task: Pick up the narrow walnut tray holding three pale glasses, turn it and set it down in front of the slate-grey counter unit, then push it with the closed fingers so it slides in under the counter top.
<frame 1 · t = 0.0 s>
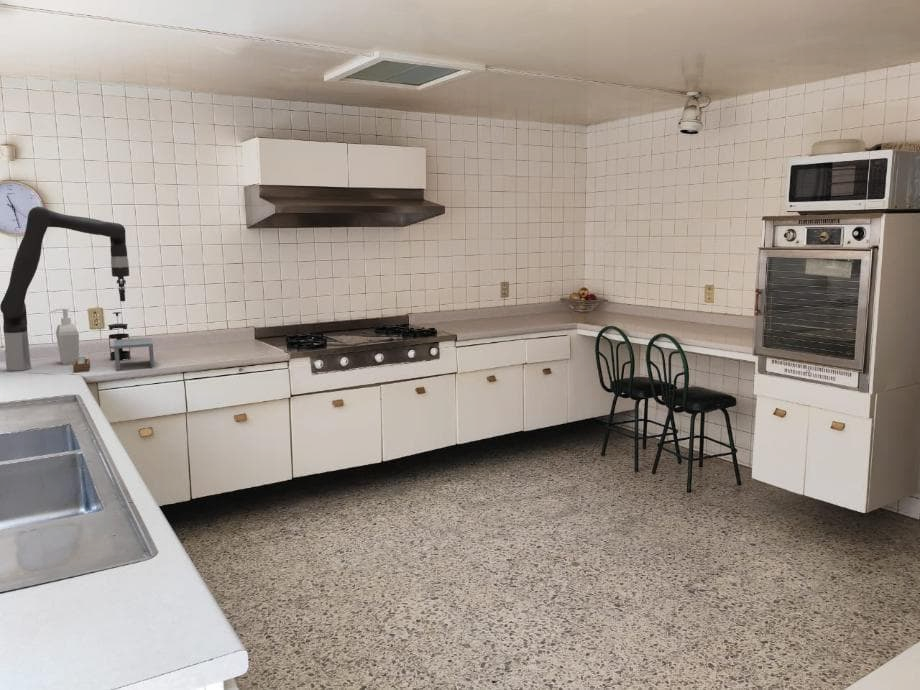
hand: (122, 300, 349), 29 cm above the countertop, tool pointing down, fingers open, 8 cm apart
tray: (82, 369, 334), on the countertop
counter: (134, 365, 342), on the countertop
soap bottle: (67, 363, 351), on the countertop
french press: (120, 359, 360), on the countertop
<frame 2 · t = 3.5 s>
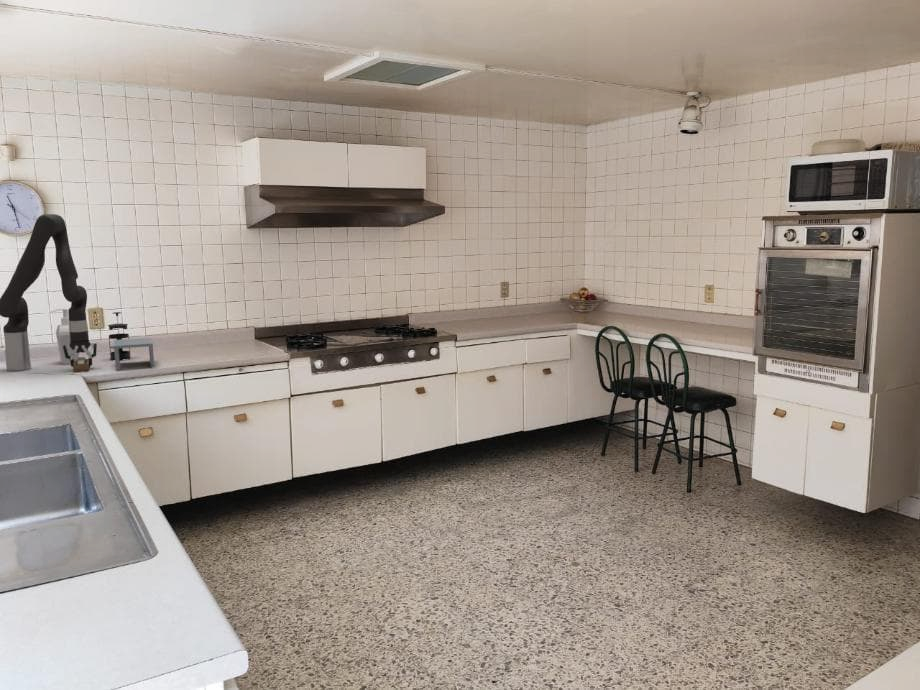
hand: (81, 366, 334), 1 cm above the countertop, tool pointing down, fingers closed on tray, 6 cm apart
tray: (82, 369, 334), on the countertop, touching gripper
everything else where it was.
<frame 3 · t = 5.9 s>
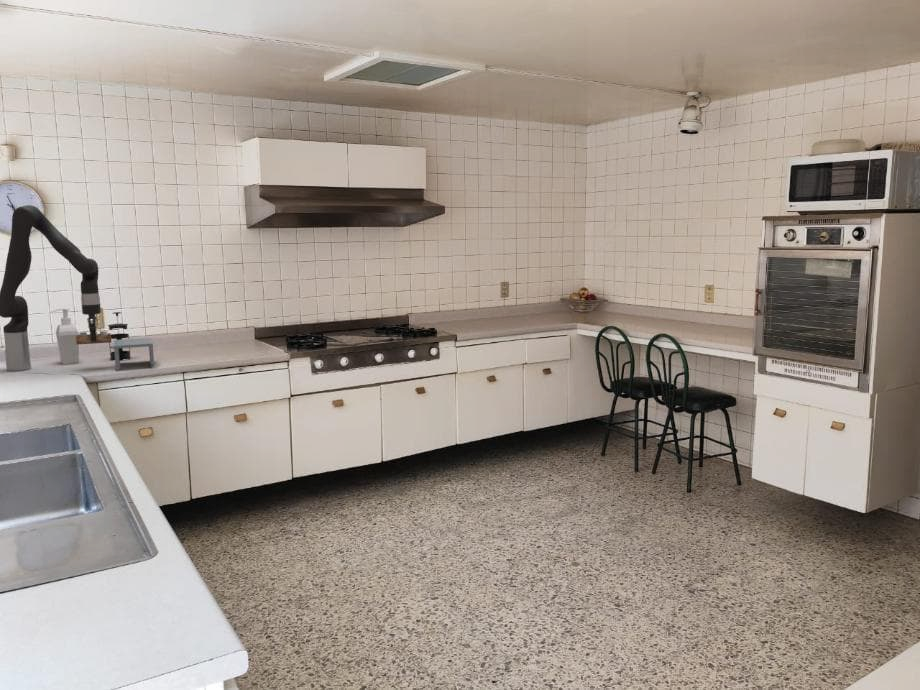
hand: (94, 340, 333), 13 cm above the countertop, tool pointing down, fingers closed on tray, 6 cm apart
tray: (94, 342, 333), point 12 cm above the countertop, touching gripper
everything else where it was.
when the fingers open (2 cm above the countertop, at t = 8.3 s): tray stays where it is, on the countertop.
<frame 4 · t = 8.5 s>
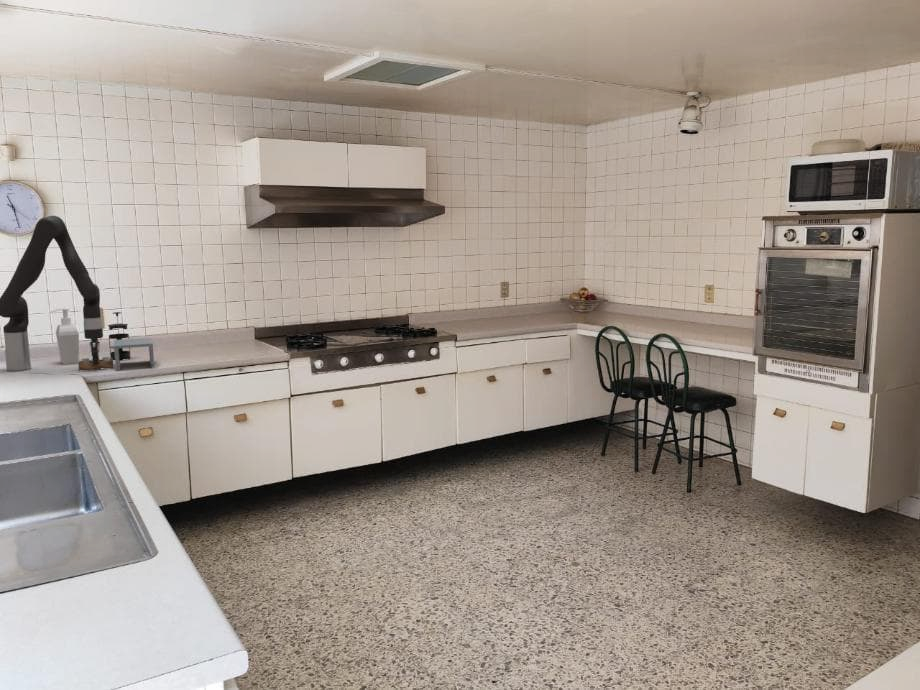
hand: (96, 363, 335), 2 cm above the countertop, tool pointing down, fingers open, 7 cm apart
tray: (96, 368, 335), on the countertop
everything else where it was.
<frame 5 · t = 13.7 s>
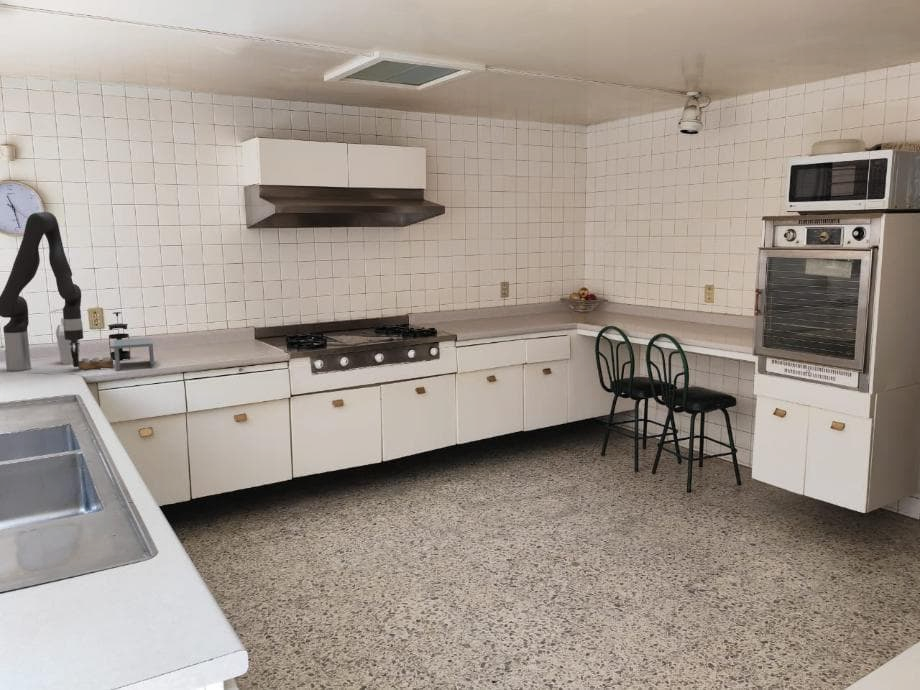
hand: (76, 366, 332), 2 cm above the countertop, tool pointing down, fingers closed
tray: (96, 368, 335), on the countertop, touching gripper
everything else where it was.
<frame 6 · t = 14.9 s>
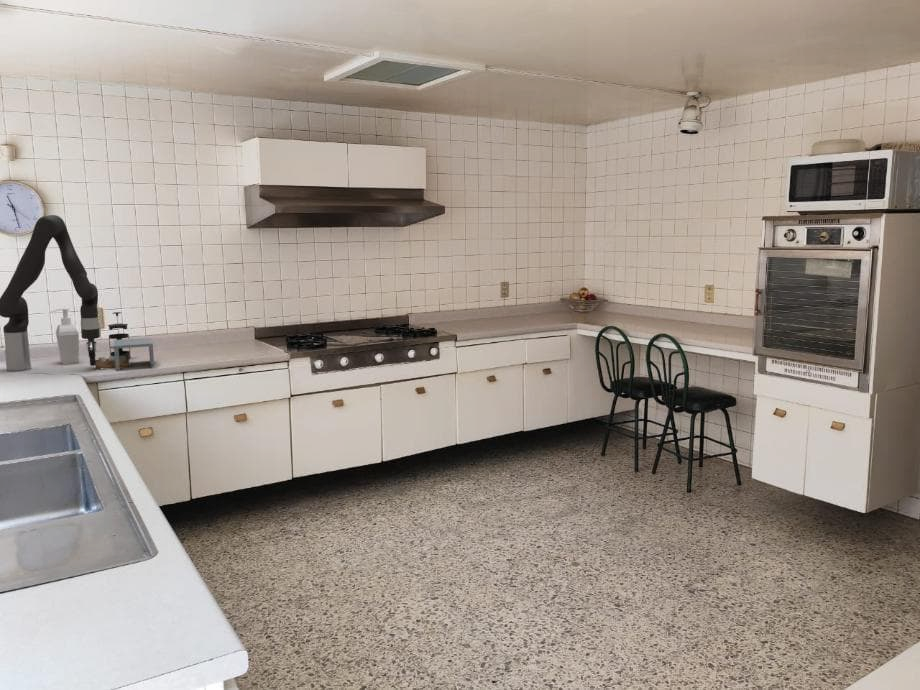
hand: (93, 365, 334), 2 cm above the countertop, tool pointing down, fingers closed
tray: (112, 367, 338), on the countertop, touching gripper
everything else where it was.
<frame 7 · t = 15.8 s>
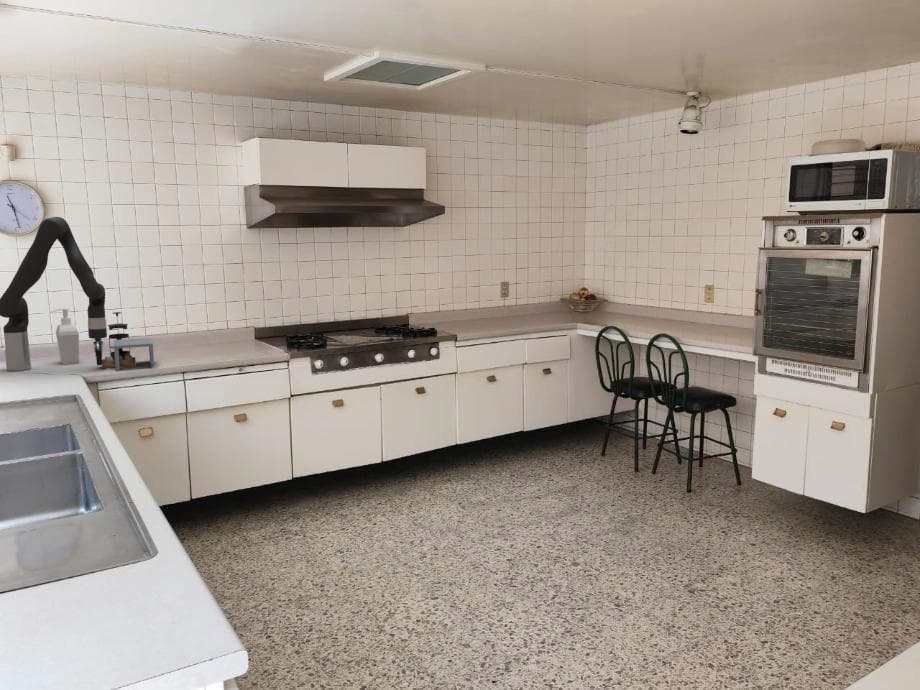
hand: (99, 364, 336), 2 cm above the countertop, tool pointing down, fingers closed
tray: (119, 366, 339), on the countertop, touching gripper
everything else where it was.
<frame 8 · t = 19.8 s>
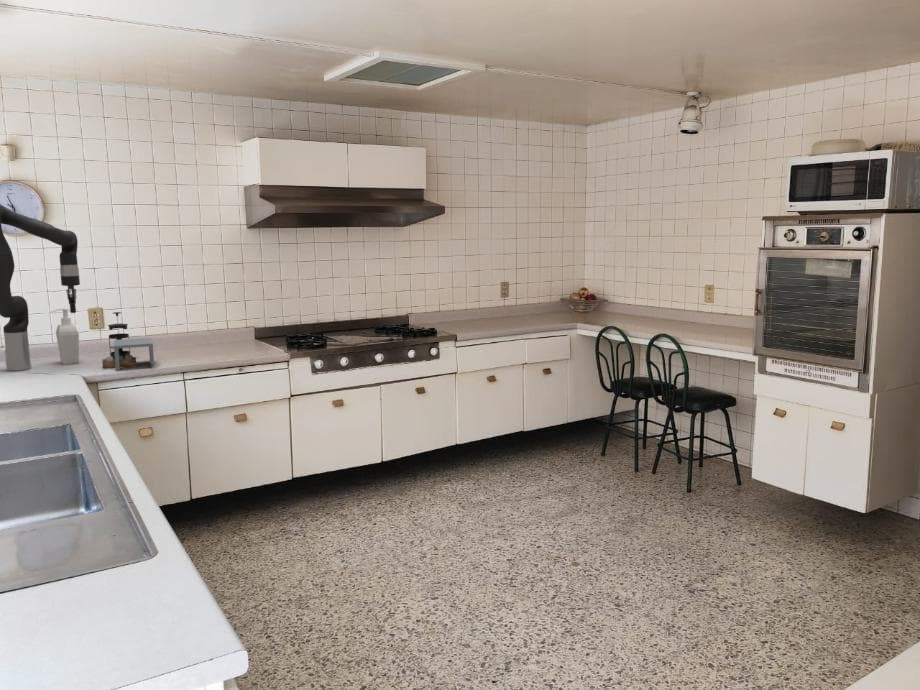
hand: (73, 312, 337), 25 cm above the countertop, tool pointing down, fingers closed
tray: (119, 366, 339), on the countertop
everything else where it was.
at the end: tray inside the target area (5.4 cm from its centre), on the countertop; tray tilted 0°; the gripper is holding nothing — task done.
